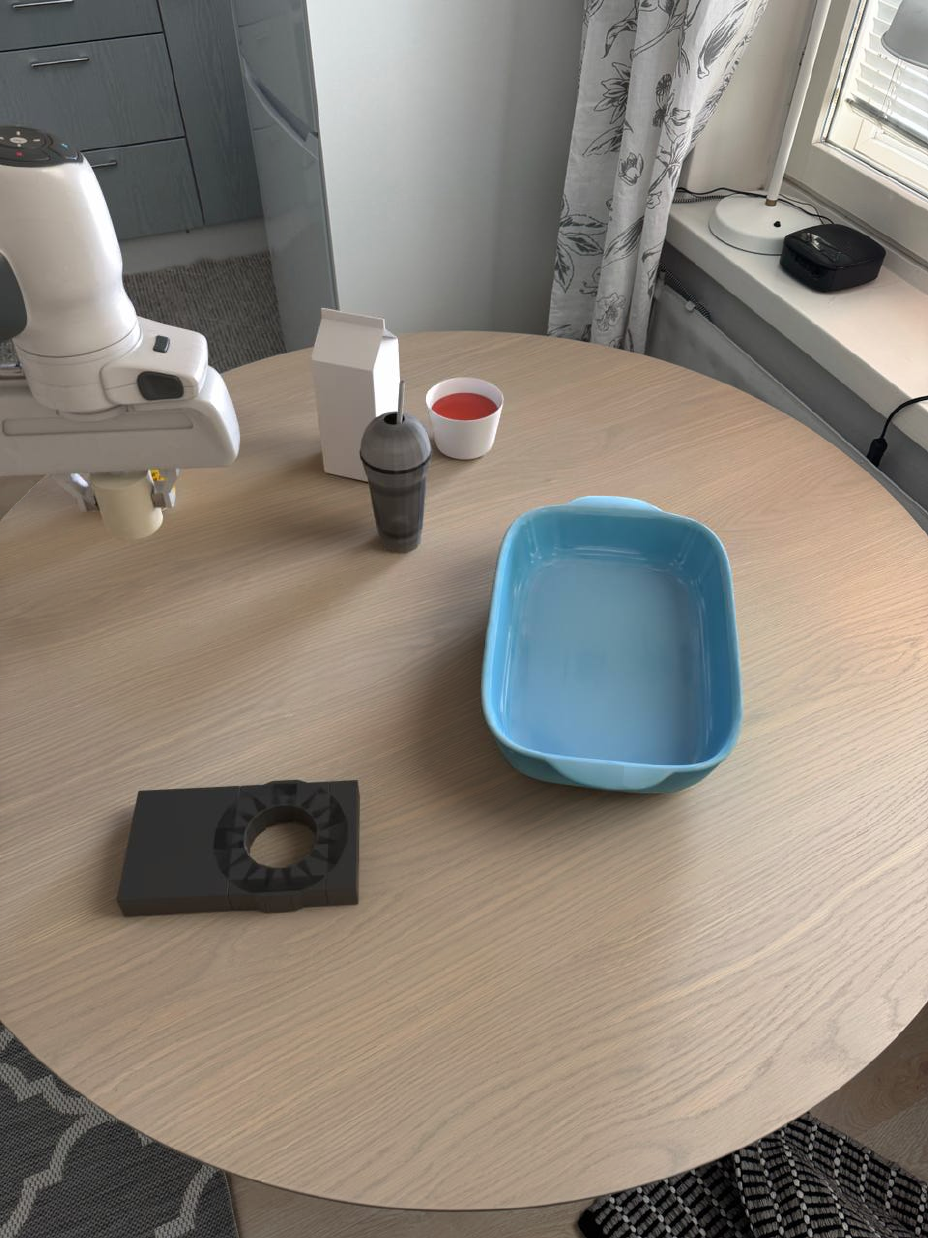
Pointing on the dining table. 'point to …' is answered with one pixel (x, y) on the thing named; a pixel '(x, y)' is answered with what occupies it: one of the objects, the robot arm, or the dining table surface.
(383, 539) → the beverage cup
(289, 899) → the board
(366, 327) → the milk carton
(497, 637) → the casserole dish
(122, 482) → the stopper
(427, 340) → the dining table surface
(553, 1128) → the dining table surface
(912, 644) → the dining table surface
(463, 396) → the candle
